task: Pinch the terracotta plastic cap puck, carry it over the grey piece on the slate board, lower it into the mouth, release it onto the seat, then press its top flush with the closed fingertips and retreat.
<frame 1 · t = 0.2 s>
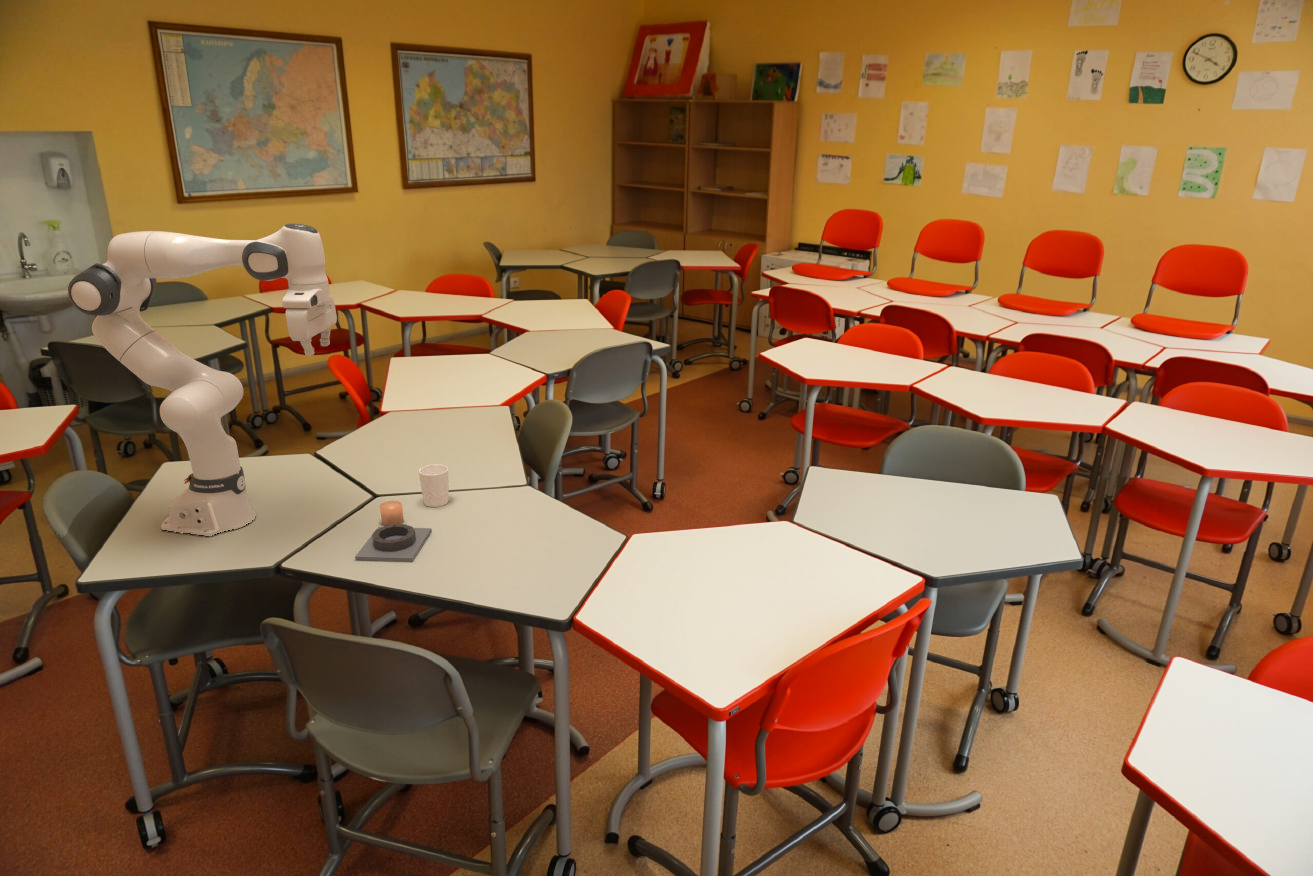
hand: (317, 350, 199), 47 cm above the table, fingers open, 8 cm apart
grey piece: (394, 545, 204), on the table
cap: (392, 522, 217), on the table
white cup: (436, 502, 229), on the table
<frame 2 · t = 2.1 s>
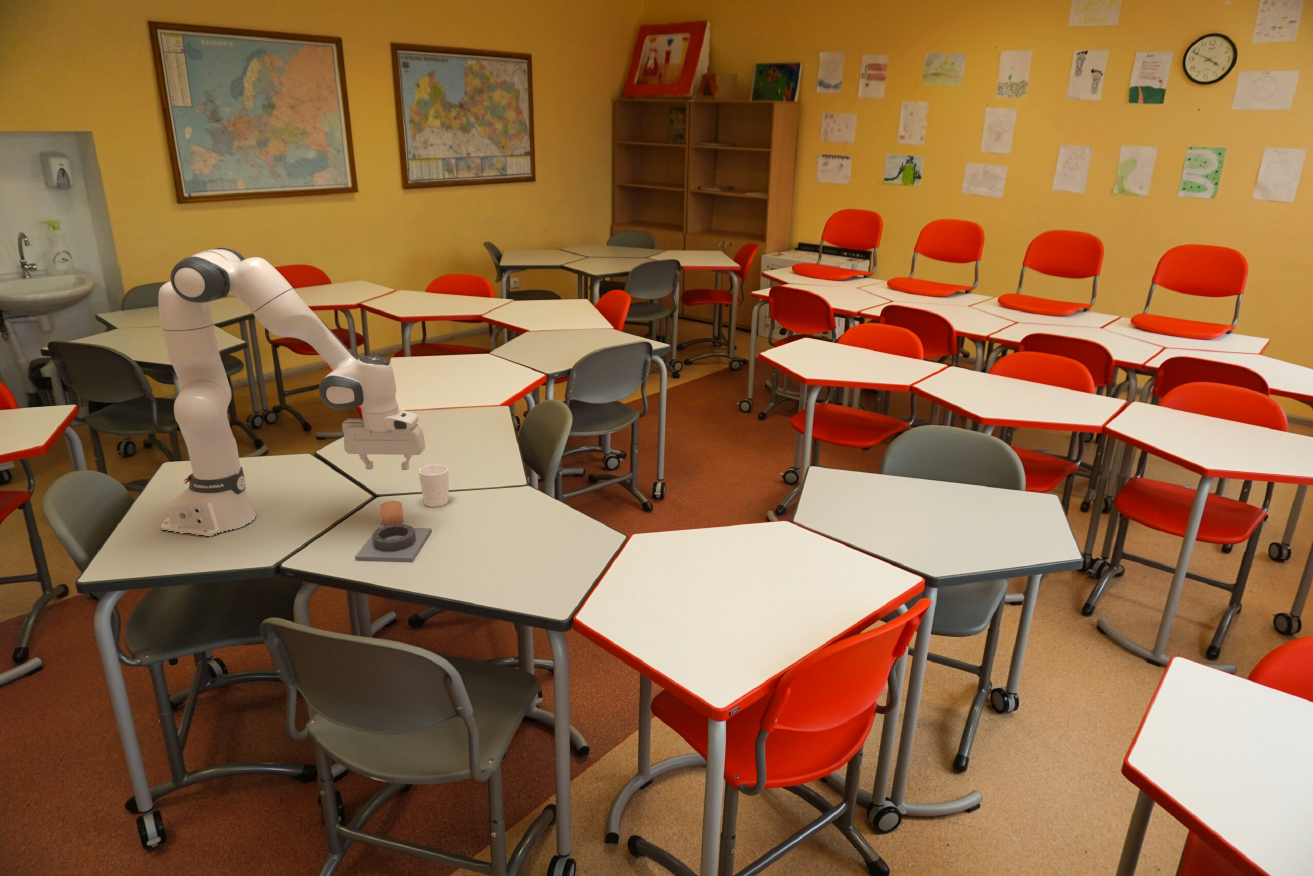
hand: (387, 469, 211), 15 cm above the table, fingers open, 8 cm apart
nothing on the table moved.
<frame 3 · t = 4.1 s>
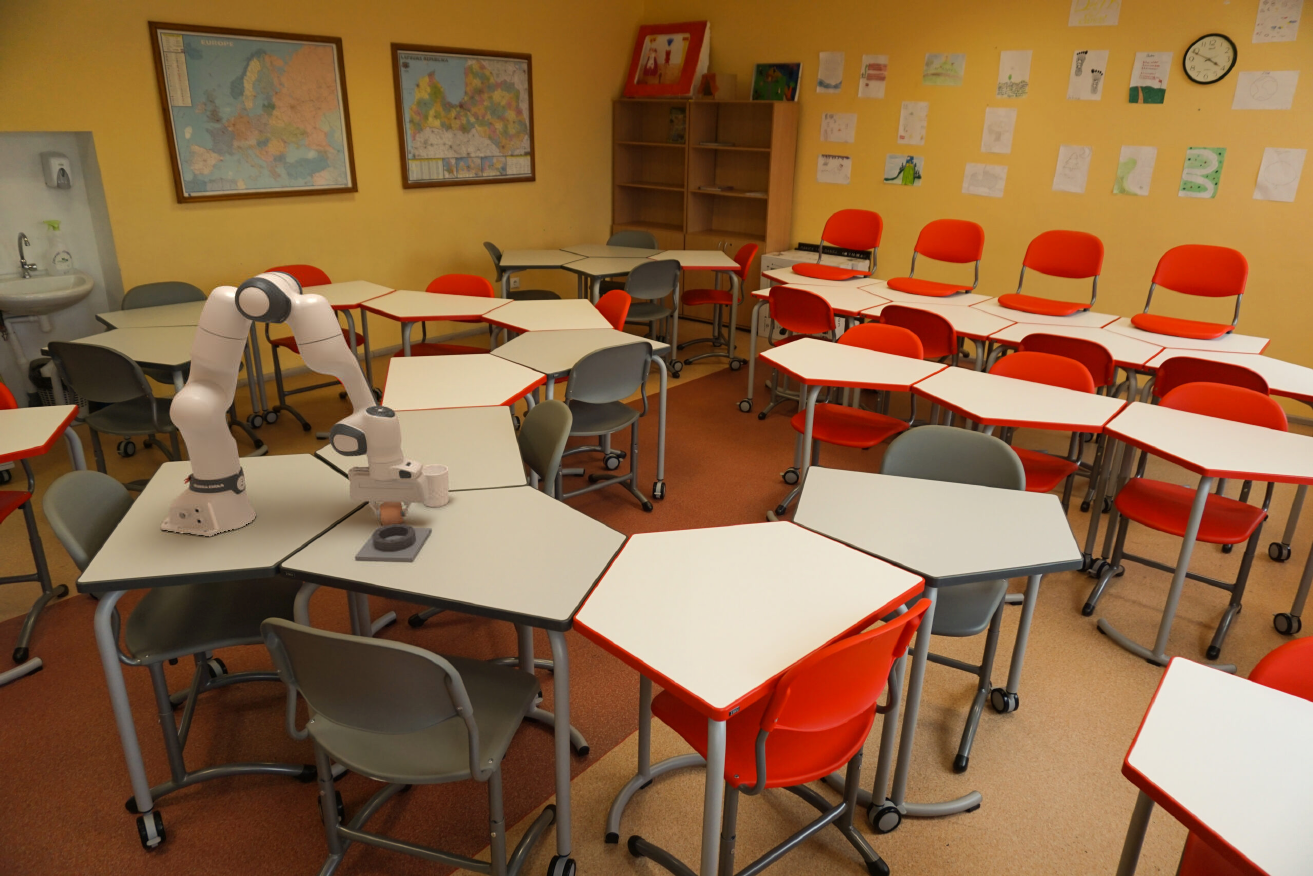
hand: (392, 515, 216), 2 cm above the table, fingers closed on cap, 6 cm apart
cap: (392, 522, 217), on the table, touching gripper
everything else where it was.
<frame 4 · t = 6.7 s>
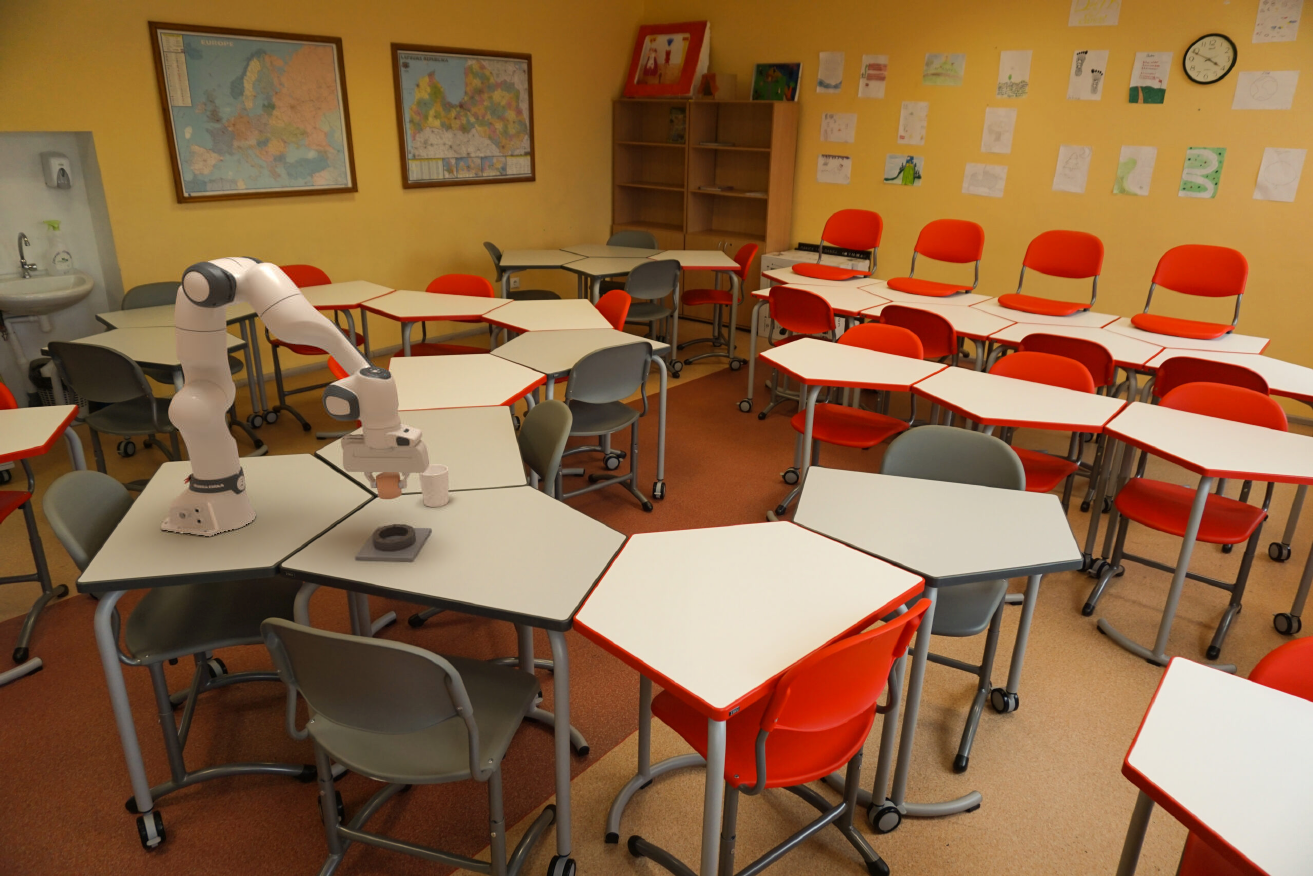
hand: (389, 487, 199), 16 cm above the table, fingers closed on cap, 6 cm apart
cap: (390, 494, 200), point 14 cm above the table, touching gripper
everything else where it was.
when the fingers open (4 cm above the table, at t = 9.3 s): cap stays where it is, resting on grey piece.
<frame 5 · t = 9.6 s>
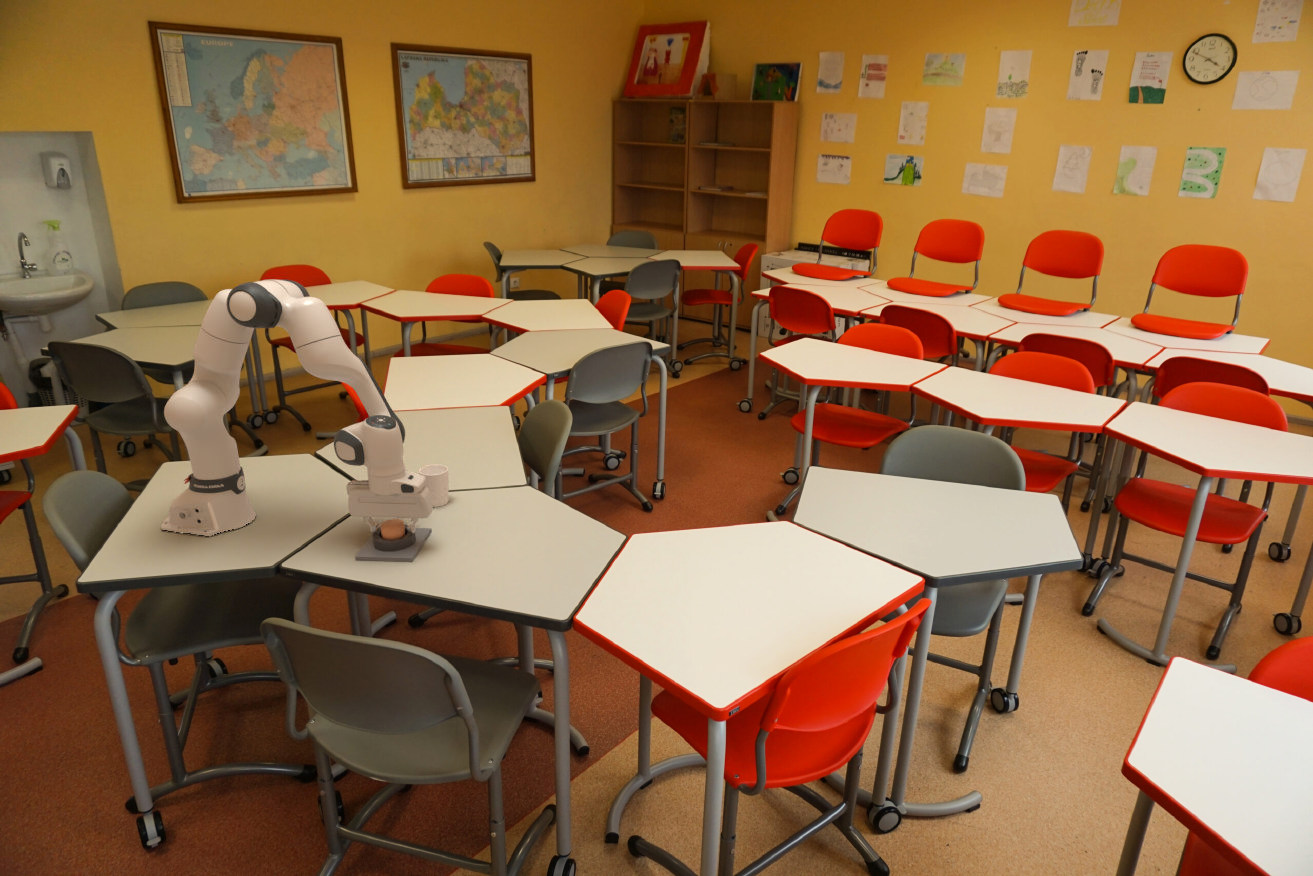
hand: (393, 531, 203), 4 cm above the table, fingers open, 8 cm apart
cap: (394, 541, 204), point 1 cm above the table, touching grey piece
everything else where it was.
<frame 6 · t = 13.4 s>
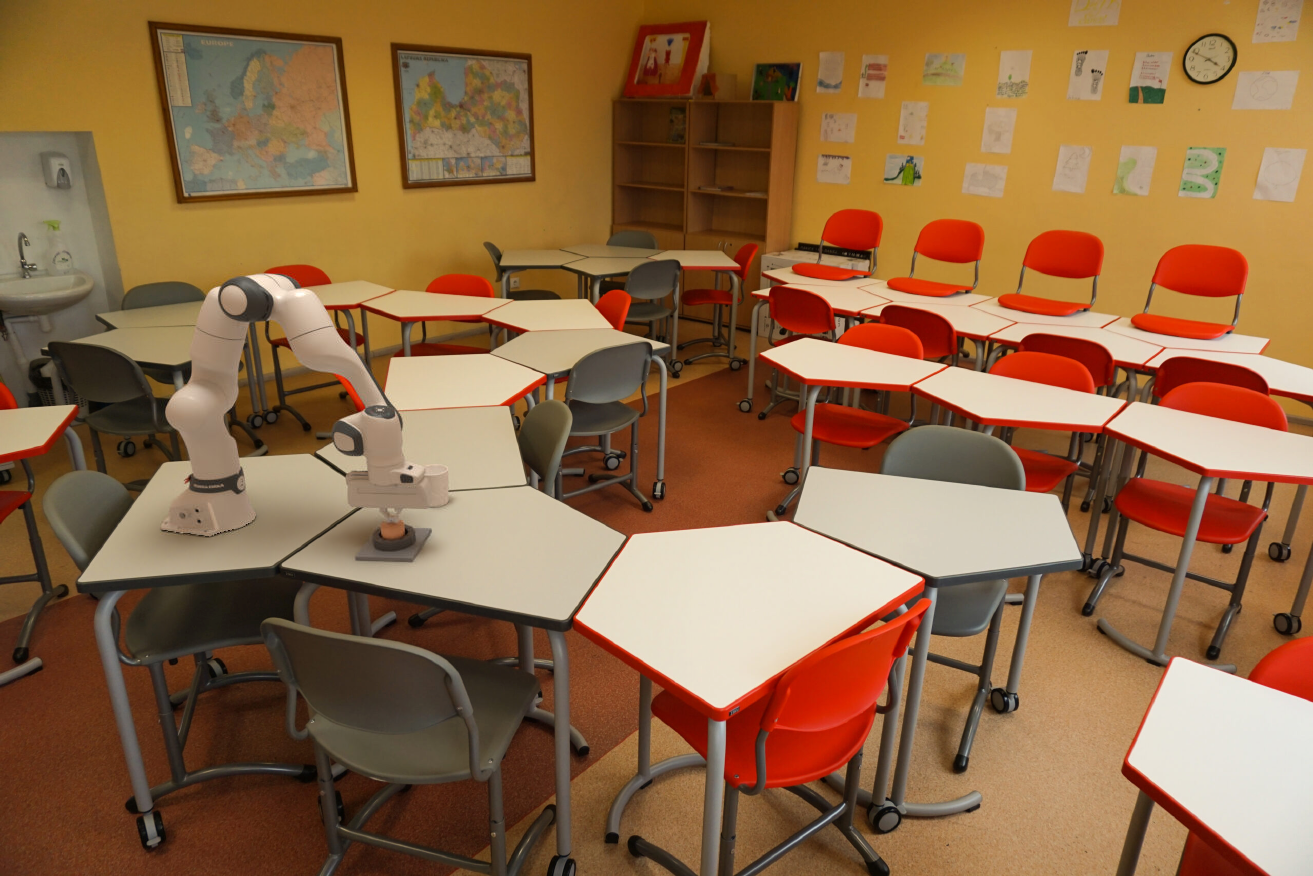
hand: (392, 522, 202), 6 cm above the table, fingers closed
nothing on the table moved.
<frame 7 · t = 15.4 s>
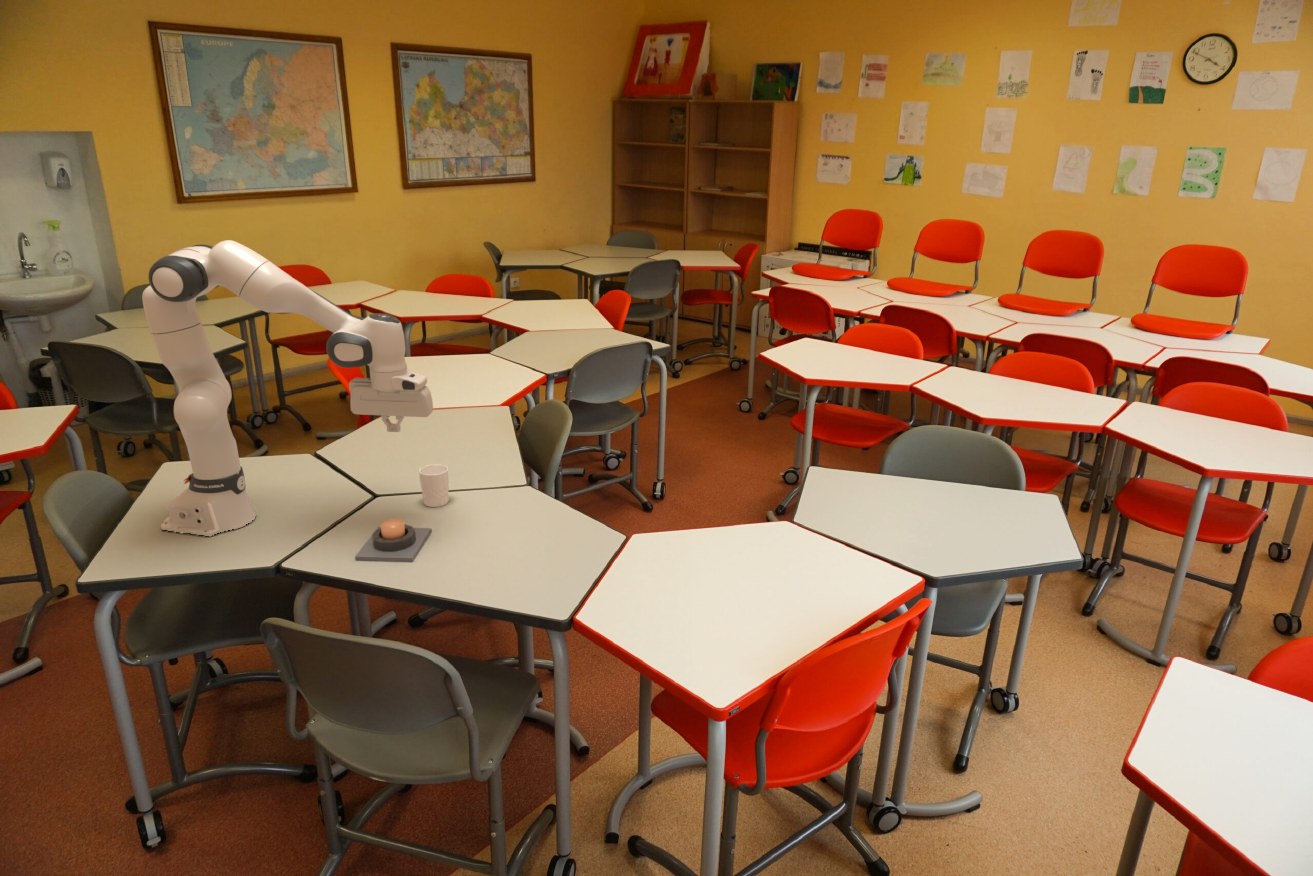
hand: (394, 431, 207), 26 cm above the table, fingers closed
nothing on the table moved.
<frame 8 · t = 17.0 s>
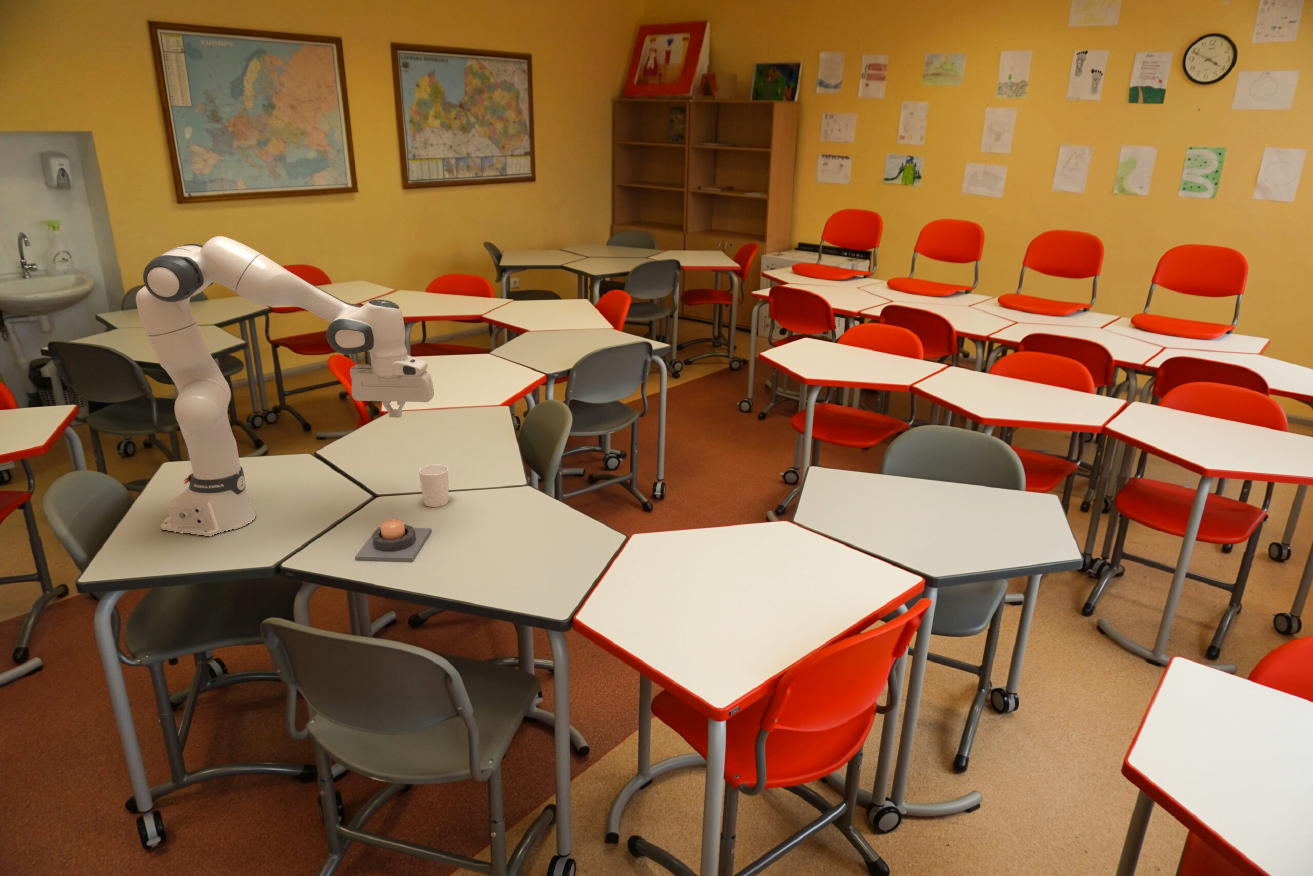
hand: (395, 416, 208), 29 cm above the table, fingers closed
nothing on the table moved.
at the end: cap 0.1 cm off-centre on the grey piece, point 1.0 cm above the grey piece's base; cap tilted 1°; the gripper is holding nothing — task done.
